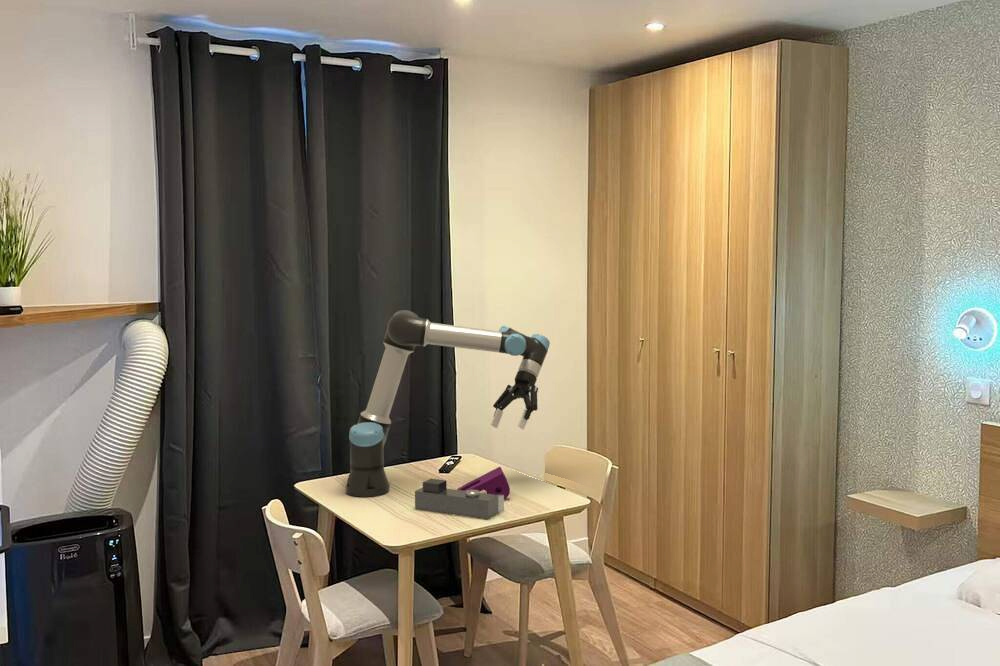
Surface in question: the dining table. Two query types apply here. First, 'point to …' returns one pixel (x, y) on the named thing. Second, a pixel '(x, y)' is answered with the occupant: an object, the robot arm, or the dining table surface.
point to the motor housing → (457, 500)
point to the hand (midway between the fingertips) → (507, 427)
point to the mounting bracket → (490, 483)
